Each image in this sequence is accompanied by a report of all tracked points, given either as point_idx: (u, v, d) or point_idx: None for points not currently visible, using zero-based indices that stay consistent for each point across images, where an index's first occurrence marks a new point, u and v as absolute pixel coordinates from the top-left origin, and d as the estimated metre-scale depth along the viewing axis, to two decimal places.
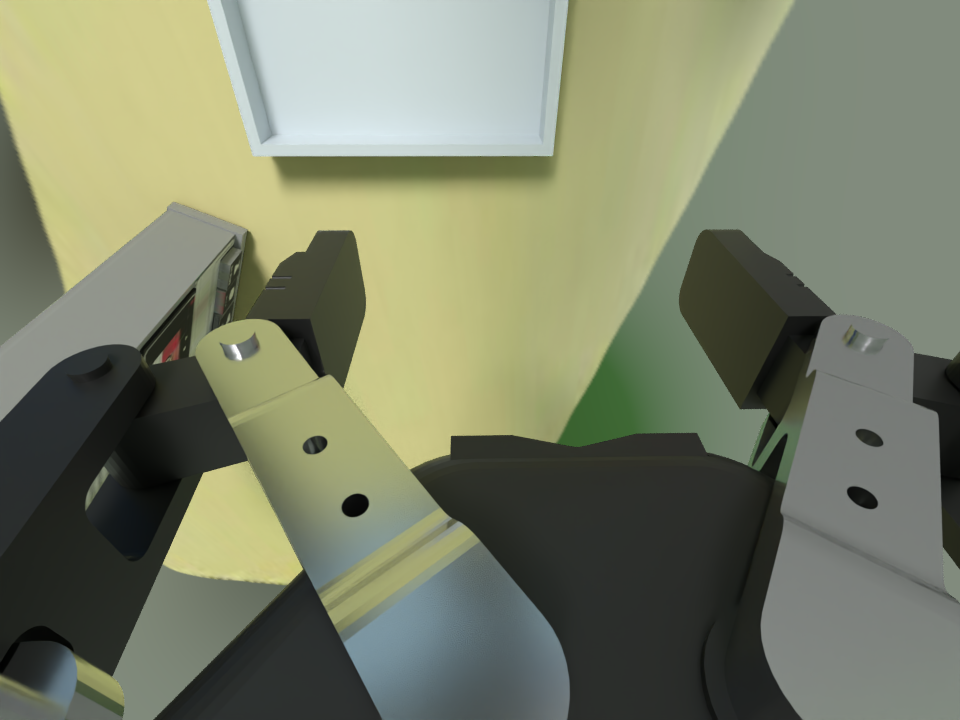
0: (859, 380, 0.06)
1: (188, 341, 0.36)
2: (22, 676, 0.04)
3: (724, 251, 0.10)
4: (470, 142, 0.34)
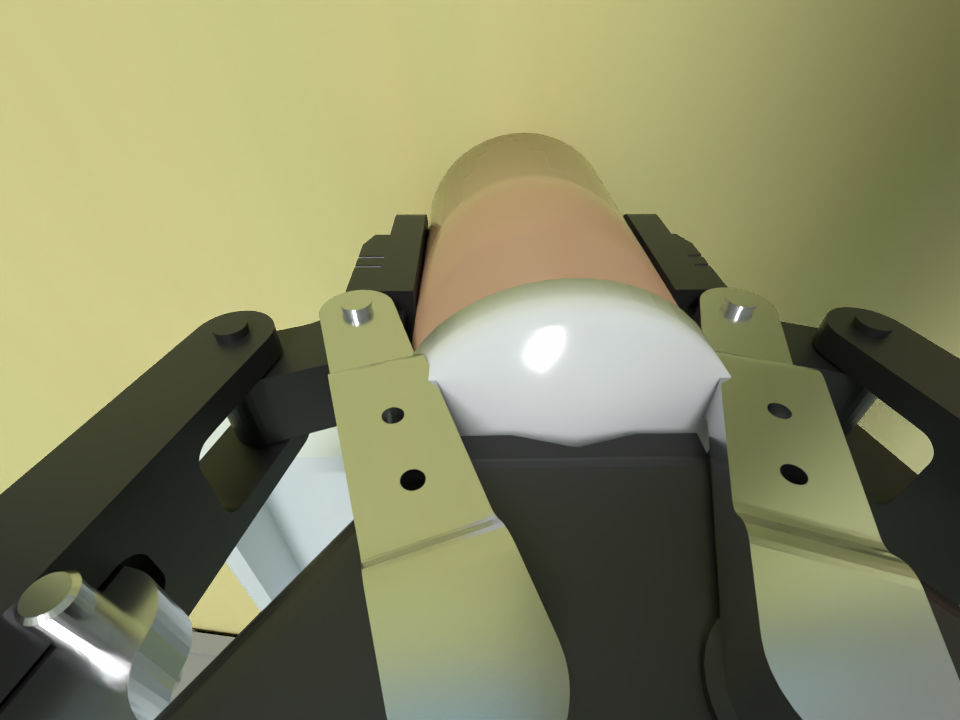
0: (719, 343, 0.07)
1: None
2: (117, 598, 0.05)
3: (636, 233, 0.10)
4: None
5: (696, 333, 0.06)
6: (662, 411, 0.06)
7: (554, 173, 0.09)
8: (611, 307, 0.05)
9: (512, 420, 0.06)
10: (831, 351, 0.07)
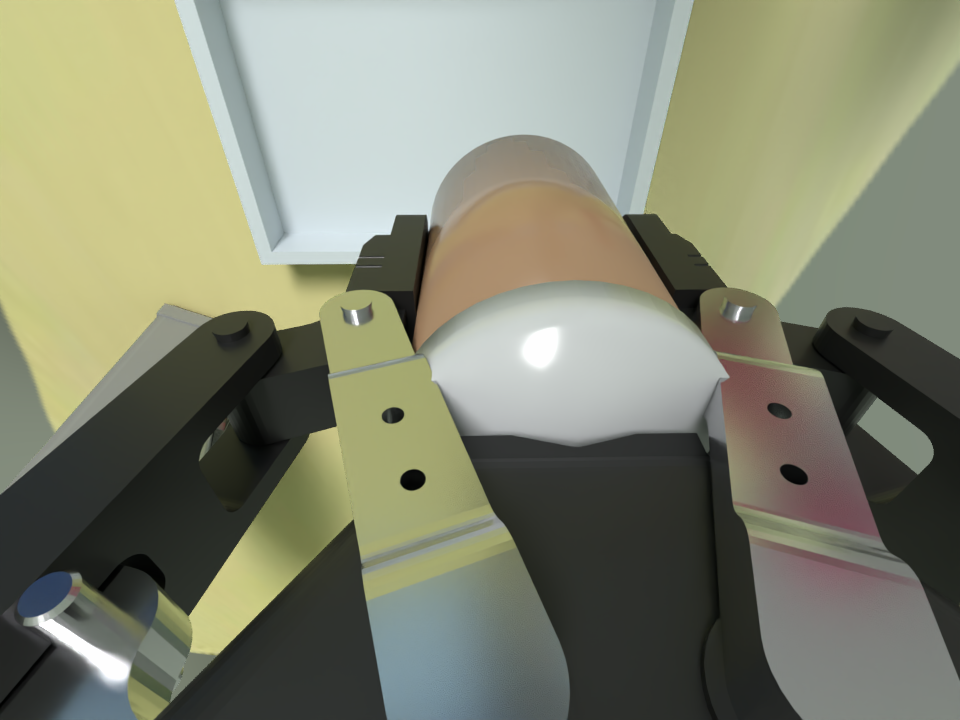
0: (719, 343, 0.07)
1: None
2: (118, 598, 0.05)
3: (636, 233, 0.10)
4: None
5: (696, 335, 0.06)
6: (662, 413, 0.06)
7: (555, 174, 0.09)
8: (611, 309, 0.05)
9: (512, 422, 0.06)
10: (830, 351, 0.07)
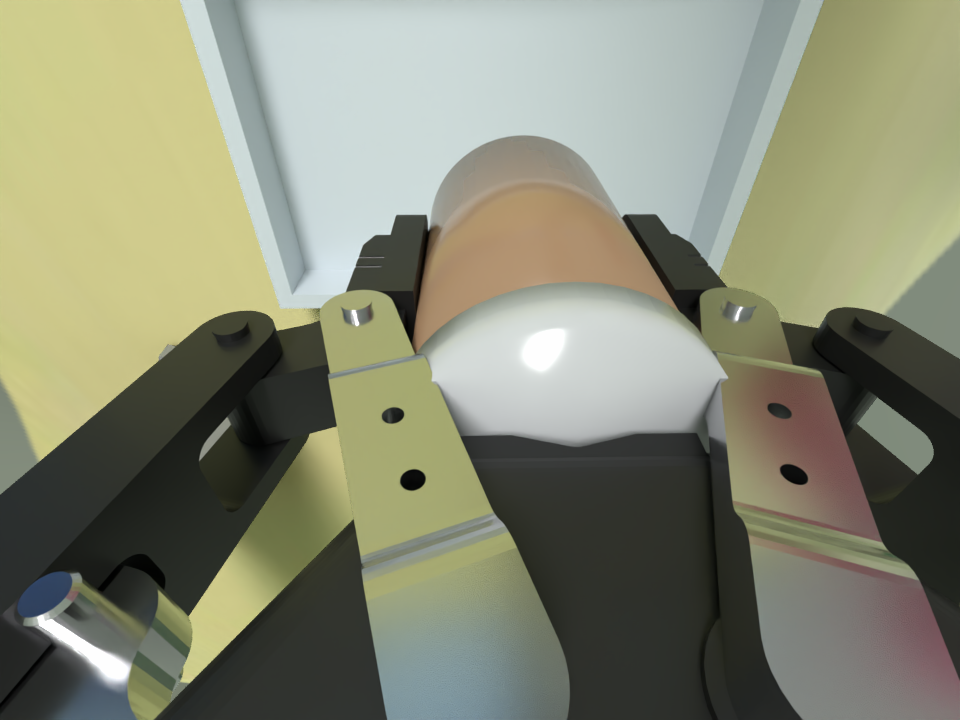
0: (719, 343, 0.07)
1: None
2: (118, 598, 0.05)
3: (636, 233, 0.10)
4: None
5: (695, 337, 0.06)
6: (661, 414, 0.06)
7: (554, 175, 0.09)
8: (610, 310, 0.05)
9: (512, 423, 0.06)
10: (830, 351, 0.07)
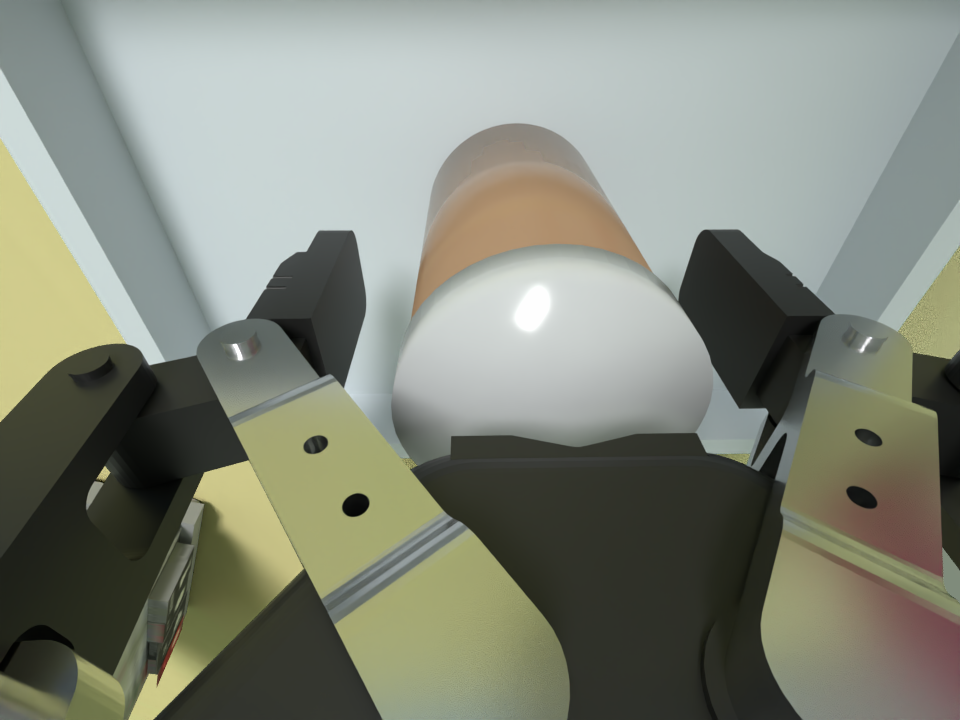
0: (858, 380, 0.06)
1: None
2: (23, 675, 0.04)
3: (723, 251, 0.10)
4: None
5: (665, 292, 0.07)
6: (636, 363, 0.07)
7: (544, 158, 0.10)
8: (588, 267, 0.06)
9: (502, 372, 0.07)
10: None
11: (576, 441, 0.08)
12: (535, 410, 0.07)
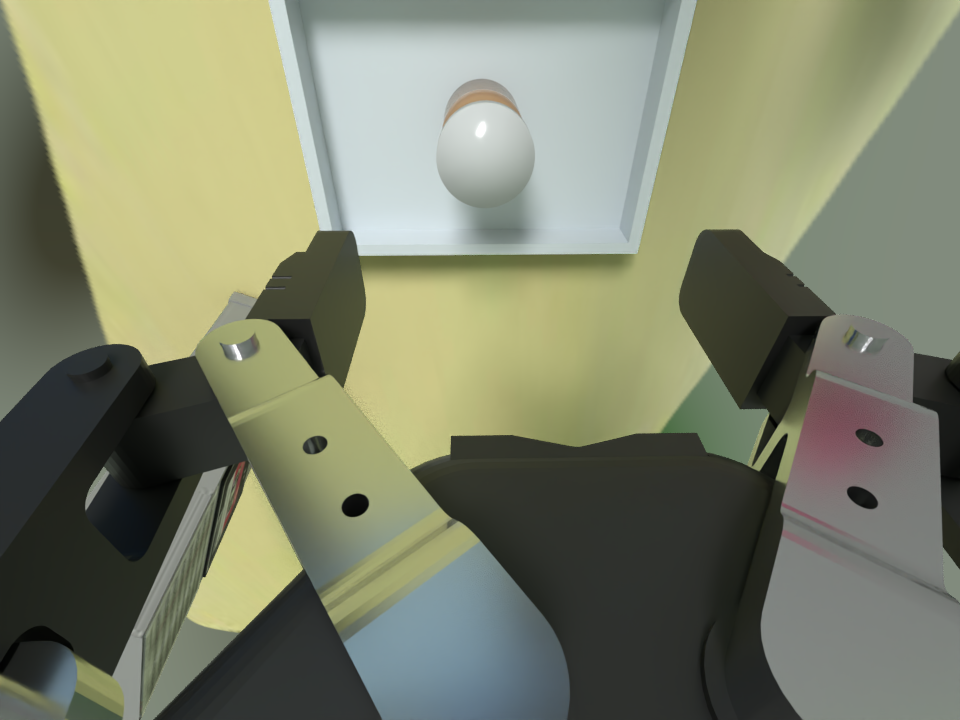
0: (859, 380, 0.06)
1: None
2: (22, 676, 0.04)
3: (724, 251, 0.10)
4: (552, 240, 0.33)
5: (516, 113, 0.23)
6: (508, 135, 0.23)
7: (489, 87, 0.26)
8: (492, 103, 0.22)
9: (469, 139, 0.23)
10: None
11: (495, 171, 0.24)
12: (480, 156, 0.24)
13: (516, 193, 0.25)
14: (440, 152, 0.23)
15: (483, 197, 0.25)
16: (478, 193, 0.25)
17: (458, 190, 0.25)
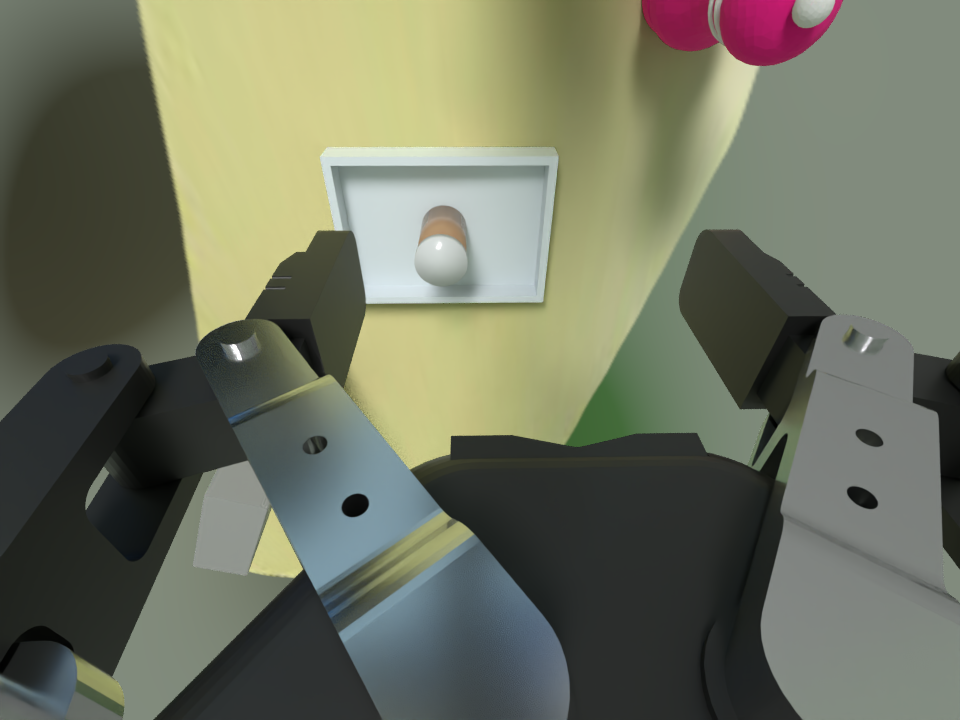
0: (859, 380, 0.06)
1: None
2: (22, 676, 0.04)
3: (724, 251, 0.10)
4: (490, 294, 0.53)
5: (456, 241, 0.43)
6: (452, 252, 0.43)
7: (445, 216, 0.47)
8: (443, 237, 0.43)
9: (431, 254, 0.43)
10: None
11: (446, 269, 0.44)
12: (438, 262, 0.44)
13: (458, 279, 0.45)
14: (416, 260, 0.44)
15: (440, 281, 0.45)
16: (438, 279, 0.45)
17: (427, 278, 0.45)
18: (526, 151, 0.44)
